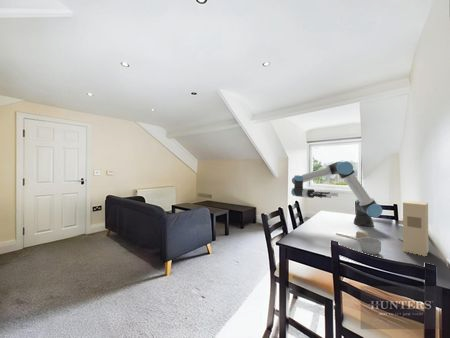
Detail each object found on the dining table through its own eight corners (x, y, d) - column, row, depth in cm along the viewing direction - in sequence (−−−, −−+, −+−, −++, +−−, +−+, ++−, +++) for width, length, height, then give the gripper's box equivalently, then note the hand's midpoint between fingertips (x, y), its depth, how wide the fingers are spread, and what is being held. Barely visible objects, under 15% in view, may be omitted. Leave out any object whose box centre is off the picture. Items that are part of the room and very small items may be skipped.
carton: (406, 246, 129) (406, 200, 129) (428, 251, 121) (427, 202, 122) (403, 251, 121) (402, 202, 122) (426, 256, 114) (425, 204, 114)
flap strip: (338, 233, 157) (338, 226, 157) (371, 241, 139) (371, 234, 139) (336, 234, 154) (336, 227, 154) (369, 243, 136) (369, 235, 136)
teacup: (380, 258, 112) (380, 243, 112) (357, 252, 119) (357, 239, 120) (382, 250, 123) (382, 237, 123) (361, 246, 130) (361, 234, 130)
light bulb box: (419, 244, 133) (419, 228, 133) (407, 243, 134) (407, 227, 134) (408, 239, 143) (408, 224, 144) (397, 238, 145) (397, 223, 145)
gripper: (315, 196, 182) (340, 198, 165) (301, 198, 166) (327, 201, 149) (315, 188, 182) (340, 189, 166) (301, 189, 166) (327, 191, 149)
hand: (334, 195), depth 157 cm, fingers open, 13 cm apart
